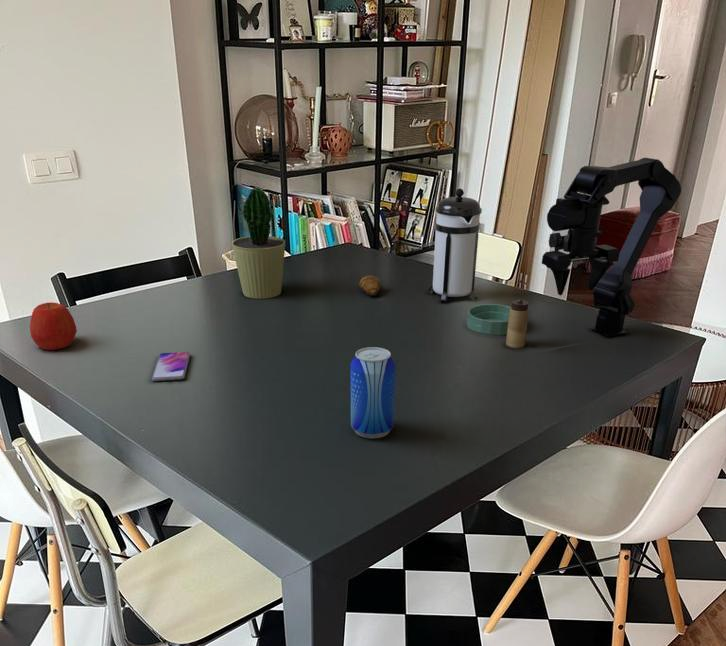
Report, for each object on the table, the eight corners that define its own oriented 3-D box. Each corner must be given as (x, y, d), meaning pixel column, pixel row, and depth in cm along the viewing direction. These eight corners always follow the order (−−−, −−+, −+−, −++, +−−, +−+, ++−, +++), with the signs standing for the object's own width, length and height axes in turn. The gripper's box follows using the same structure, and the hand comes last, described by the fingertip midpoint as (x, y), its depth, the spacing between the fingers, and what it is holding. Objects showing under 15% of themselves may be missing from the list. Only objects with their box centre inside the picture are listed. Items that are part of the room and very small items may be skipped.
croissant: (385, 297, 215) (385, 280, 212) (362, 299, 214) (362, 282, 211) (376, 284, 226) (377, 268, 223) (355, 285, 225) (355, 269, 222)
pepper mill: (513, 341, 185) (518, 295, 179) (528, 346, 182) (534, 299, 176) (501, 345, 183) (507, 298, 176) (516, 350, 180) (522, 303, 174)
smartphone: (151, 378, 162) (159, 353, 175) (151, 382, 163) (160, 356, 175) (184, 376, 163) (190, 351, 176) (184, 380, 163) (190, 354, 176)
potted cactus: (243, 283, 226) (235, 180, 210) (292, 286, 224) (288, 181, 208) (229, 299, 213) (219, 190, 197) (281, 302, 211) (275, 191, 195)
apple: (88, 344, 182) (79, 302, 176) (46, 356, 175) (36, 313, 169) (66, 334, 188) (57, 293, 182) (25, 345, 181) (15, 303, 176)
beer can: (349, 421, 147) (348, 345, 139) (390, 419, 148) (392, 344, 139) (352, 441, 140) (352, 363, 132) (396, 439, 141) (398, 361, 132)
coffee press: (487, 293, 219) (497, 186, 203) (464, 307, 207) (473, 195, 191) (436, 283, 227) (442, 180, 211) (410, 297, 215) (415, 189, 199)
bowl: (500, 315, 202) (501, 301, 200) (531, 332, 191) (533, 317, 189) (456, 322, 197) (457, 308, 195) (485, 340, 186) (487, 324, 184)
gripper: (594, 215, 179) (584, 279, 187) (531, 222, 172) (523, 288, 180) (626, 225, 170) (614, 291, 178) (561, 232, 163) (551, 301, 172)
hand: (575, 292), depth 177 cm, fingers open, 9 cm apart
